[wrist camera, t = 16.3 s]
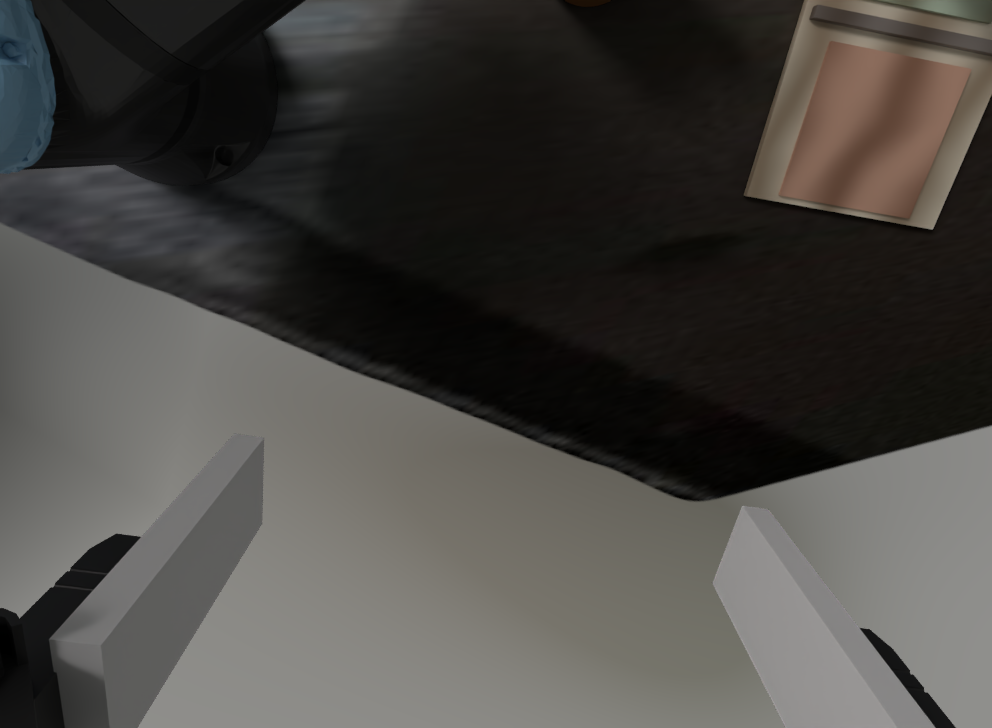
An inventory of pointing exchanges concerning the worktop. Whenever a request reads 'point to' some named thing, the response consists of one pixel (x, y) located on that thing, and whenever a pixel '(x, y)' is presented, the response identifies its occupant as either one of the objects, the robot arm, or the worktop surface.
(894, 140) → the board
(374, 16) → the worktop surface
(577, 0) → the mug
